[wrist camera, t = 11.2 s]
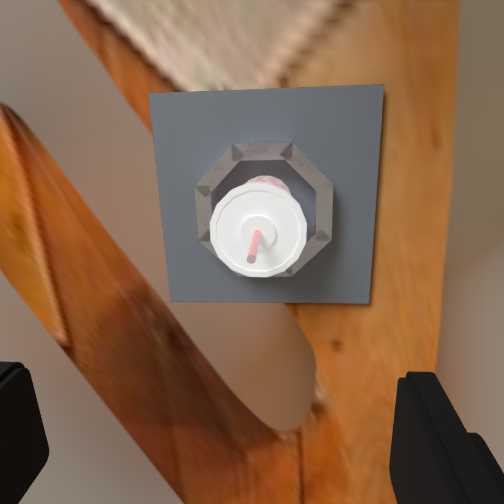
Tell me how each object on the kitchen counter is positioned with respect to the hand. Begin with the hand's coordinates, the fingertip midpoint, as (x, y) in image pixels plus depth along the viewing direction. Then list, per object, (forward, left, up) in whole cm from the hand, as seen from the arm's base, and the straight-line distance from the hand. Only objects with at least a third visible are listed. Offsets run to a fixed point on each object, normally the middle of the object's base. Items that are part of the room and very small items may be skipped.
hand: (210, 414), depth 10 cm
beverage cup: (0, 0, -25) cm, 25 cm away
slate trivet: (0, 0, -26) cm, 26 cm away
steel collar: (0, 0, -25) cm, 25 cm away
